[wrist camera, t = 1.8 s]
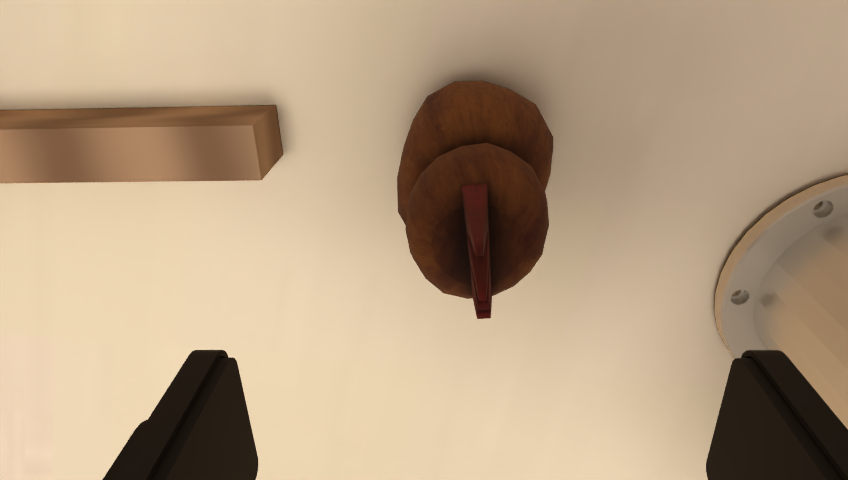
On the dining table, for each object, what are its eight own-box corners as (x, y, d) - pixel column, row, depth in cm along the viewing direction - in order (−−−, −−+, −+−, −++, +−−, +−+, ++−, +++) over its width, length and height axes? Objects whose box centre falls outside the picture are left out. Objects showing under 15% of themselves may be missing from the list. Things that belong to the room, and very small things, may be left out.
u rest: (235, -180, 22) (199, -201, 19) (283, 154, 28) (261, 180, 25) (-211, -159, 23) (-314, -176, 20) (-75, 159, 29) (-138, 184, 26)
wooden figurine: (430, 48, 26) (403, 157, 12) (554, 86, 26) (657, 229, 13) (392, 186, 29) (337, 394, 15) (503, 217, 29) (545, 446, 16)
